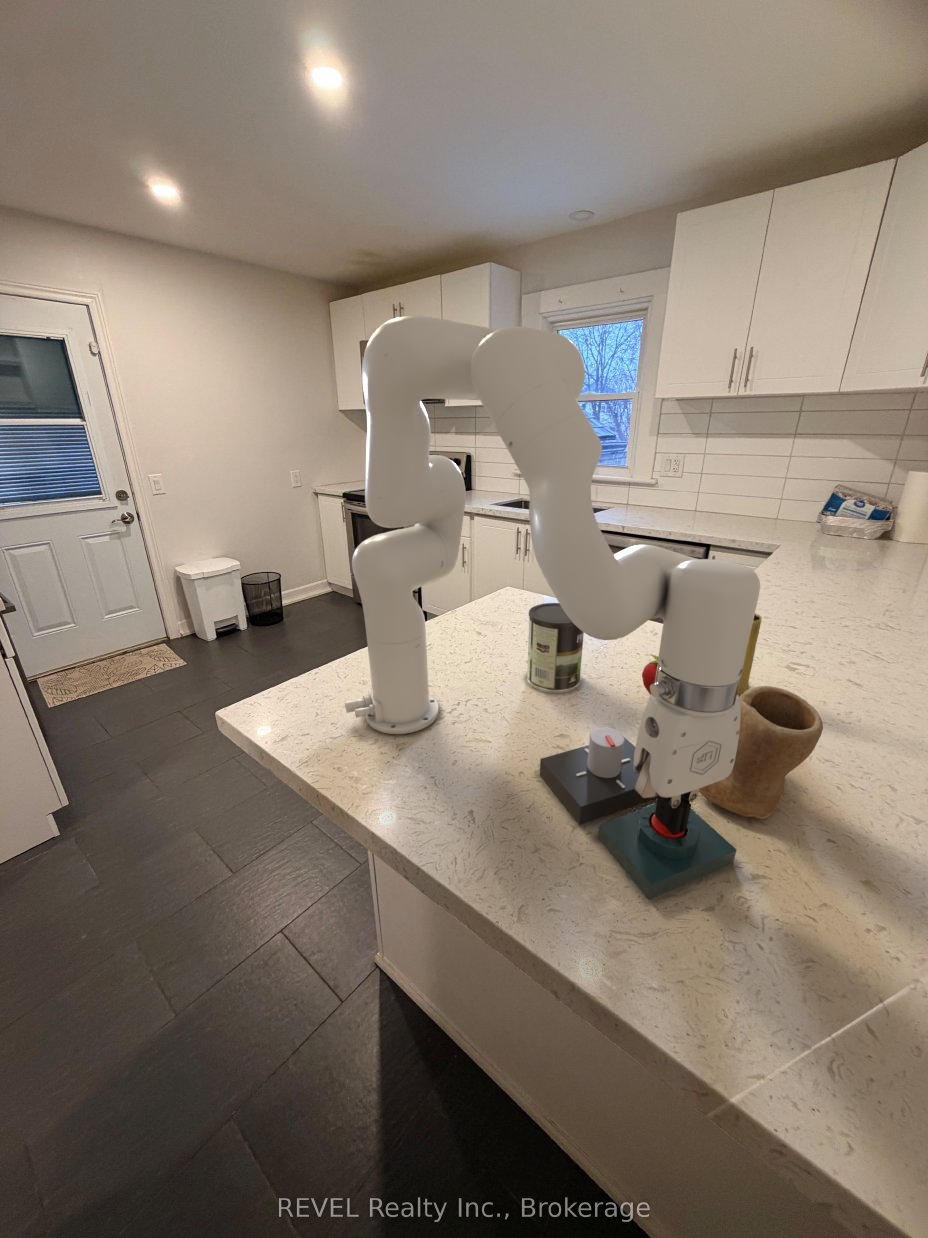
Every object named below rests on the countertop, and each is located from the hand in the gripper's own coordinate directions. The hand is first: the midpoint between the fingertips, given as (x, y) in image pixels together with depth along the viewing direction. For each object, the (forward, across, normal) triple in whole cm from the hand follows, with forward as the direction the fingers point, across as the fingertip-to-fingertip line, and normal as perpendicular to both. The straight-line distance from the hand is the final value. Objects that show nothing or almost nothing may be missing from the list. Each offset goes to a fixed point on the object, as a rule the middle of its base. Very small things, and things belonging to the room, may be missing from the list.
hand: (669, 823), depth 56 cm
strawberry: (+4, +22, +26) cm, 34 cm away
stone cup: (+4, +18, +4) cm, 19 cm away
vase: (+4, +38, +25) cm, 46 cm away
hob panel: (+4, 0, +12) cm, 13 cm away
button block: (+4, 0, 0) cm, 4 cm away
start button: (+2, 0, 0) cm, 2 cm away
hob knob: (+1, 0, +12) cm, 12 cm away
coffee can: (+4, +9, +40) cm, 41 cm away
